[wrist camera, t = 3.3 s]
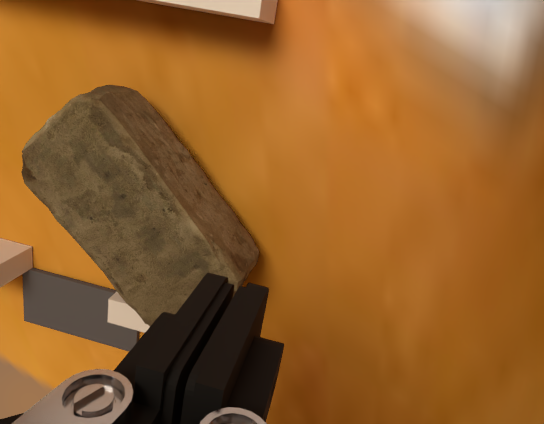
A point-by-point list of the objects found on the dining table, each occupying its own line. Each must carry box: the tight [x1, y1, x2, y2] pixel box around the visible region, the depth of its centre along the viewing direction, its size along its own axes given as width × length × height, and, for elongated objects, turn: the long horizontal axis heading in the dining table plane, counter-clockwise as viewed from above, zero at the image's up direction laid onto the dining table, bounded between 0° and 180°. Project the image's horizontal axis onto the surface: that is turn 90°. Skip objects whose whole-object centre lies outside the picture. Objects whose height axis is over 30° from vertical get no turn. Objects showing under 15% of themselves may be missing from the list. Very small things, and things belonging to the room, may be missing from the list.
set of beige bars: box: [0, 0, 278, 333], centre depth 23 cm, size 22×18×3 cm
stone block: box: [22, 85, 259, 326], centre depth 21 cm, size 6×12×5 cm, turn 36°
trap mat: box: [23, 268, 139, 351], centre depth 28 cm, size 8×4×1 cm, turn 80°
